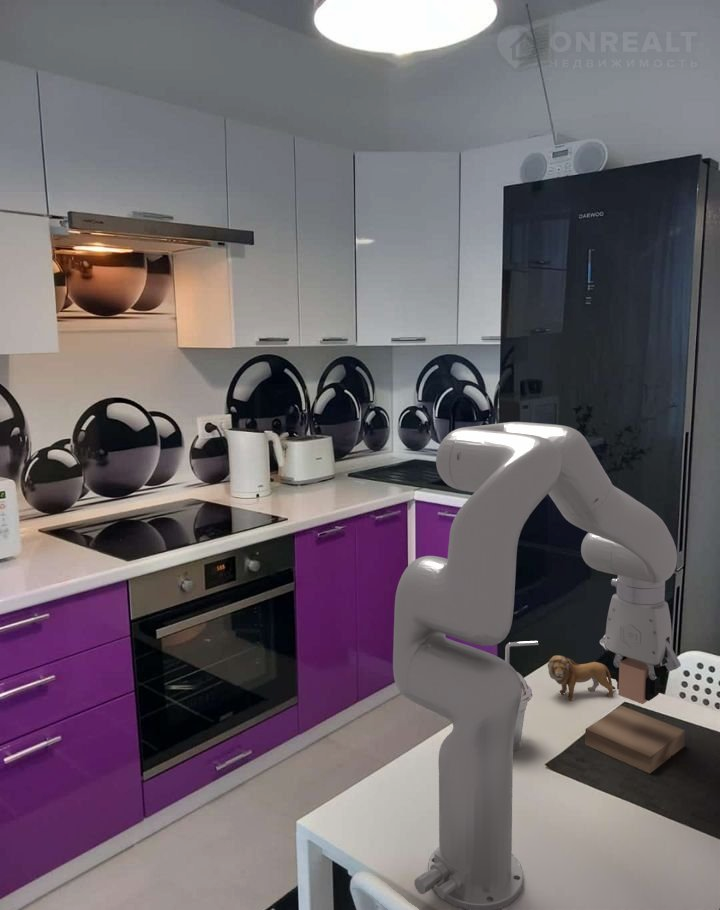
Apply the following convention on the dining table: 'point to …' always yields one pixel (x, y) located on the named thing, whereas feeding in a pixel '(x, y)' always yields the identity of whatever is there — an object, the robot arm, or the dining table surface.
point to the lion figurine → (578, 674)
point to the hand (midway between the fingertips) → (637, 691)
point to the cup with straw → (524, 697)
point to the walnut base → (635, 738)
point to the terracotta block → (633, 680)
